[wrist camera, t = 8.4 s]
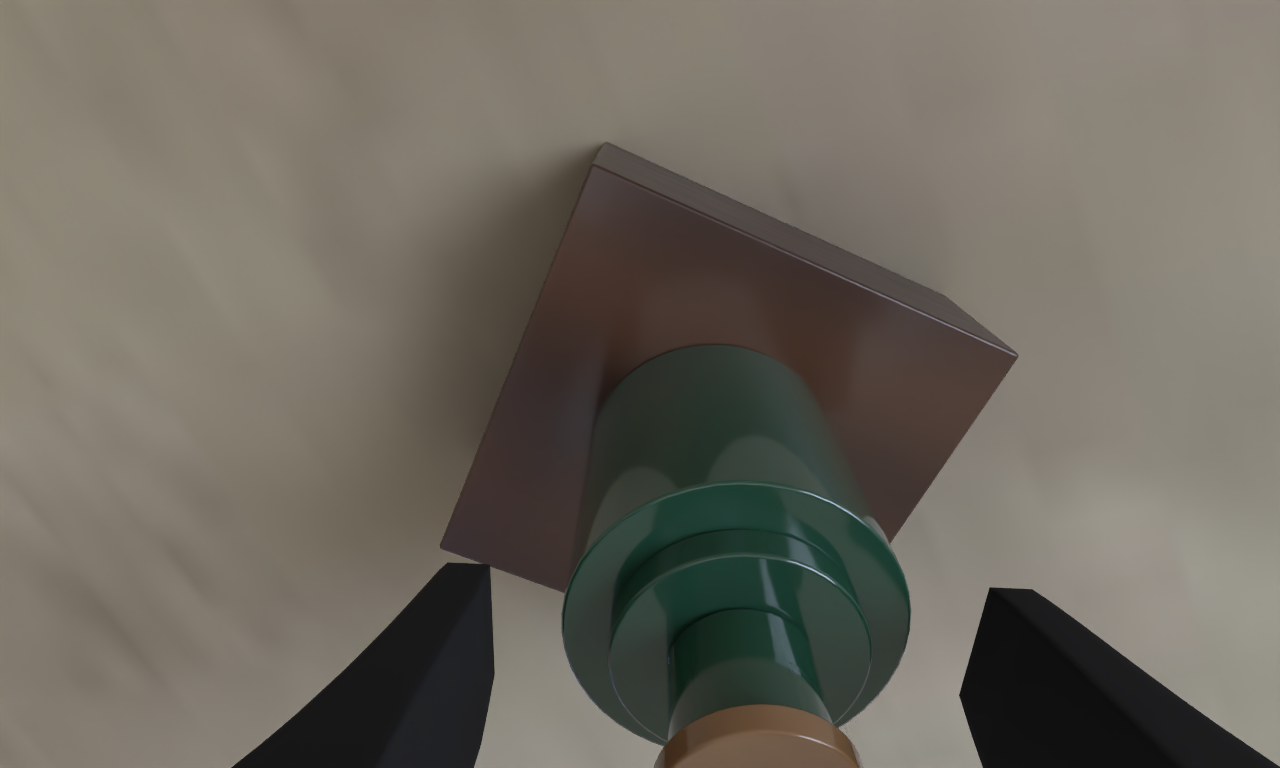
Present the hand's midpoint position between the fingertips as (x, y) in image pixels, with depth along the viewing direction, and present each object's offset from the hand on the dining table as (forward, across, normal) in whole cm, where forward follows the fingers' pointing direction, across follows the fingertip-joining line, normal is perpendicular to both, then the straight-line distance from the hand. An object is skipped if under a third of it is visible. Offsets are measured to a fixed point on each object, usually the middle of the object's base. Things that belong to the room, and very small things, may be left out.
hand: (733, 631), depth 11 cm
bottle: (+5, 0, 0) cm, 5 cm away
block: (+9, 0, 0) cm, 9 cm away
